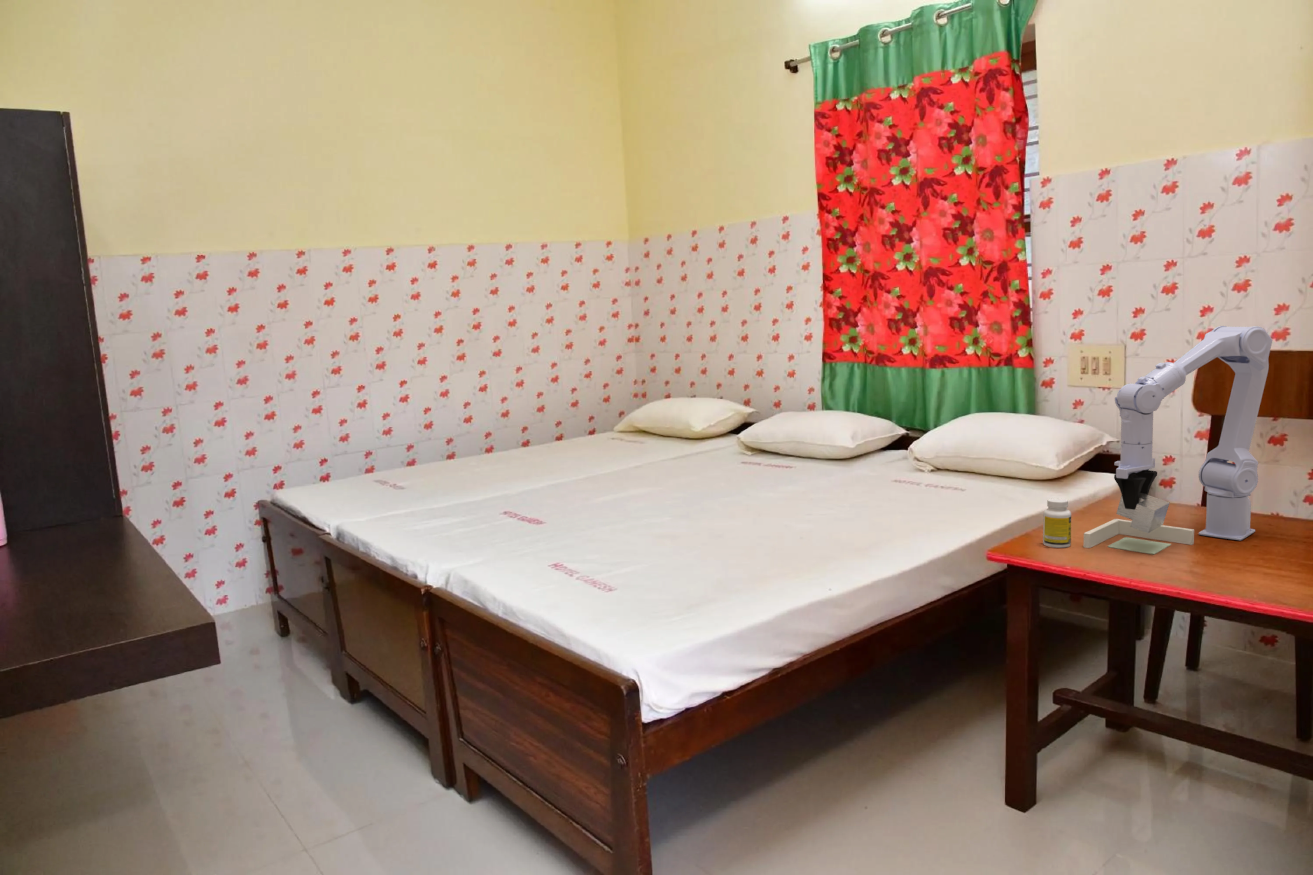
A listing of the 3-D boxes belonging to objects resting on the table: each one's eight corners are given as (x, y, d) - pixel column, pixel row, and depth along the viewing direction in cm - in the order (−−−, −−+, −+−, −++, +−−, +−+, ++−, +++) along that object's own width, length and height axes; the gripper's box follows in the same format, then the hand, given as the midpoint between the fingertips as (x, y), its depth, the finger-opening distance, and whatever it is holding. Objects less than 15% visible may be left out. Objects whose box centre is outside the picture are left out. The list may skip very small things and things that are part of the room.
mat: (1125, 537, 188) (1125, 537, 188) (1171, 544, 182) (1171, 543, 182) (1107, 546, 183) (1107, 546, 183) (1154, 554, 176) (1154, 553, 176)
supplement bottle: (1073, 548, 183) (1074, 502, 182) (1046, 548, 184) (1046, 503, 183) (1067, 541, 188) (1067, 496, 187) (1040, 541, 189) (1040, 497, 188)
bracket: (1162, 524, 180) (1169, 502, 178) (1148, 533, 175) (1155, 510, 173) (1123, 510, 185) (1129, 488, 184) (1107, 518, 181) (1114, 496, 179)
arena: (1115, 531, 193) (1115, 518, 193) (1193, 543, 182) (1194, 529, 181) (1083, 547, 184) (1083, 533, 183) (1164, 560, 172) (1164, 545, 171)
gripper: (1130, 436, 187) (1129, 498, 189) (1101, 445, 178) (1099, 510, 180) (1166, 438, 182) (1164, 502, 184) (1138, 448, 173) (1136, 515, 175)
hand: (1135, 506), depth 182 cm, fingers closed on bracket, 3 cm apart
